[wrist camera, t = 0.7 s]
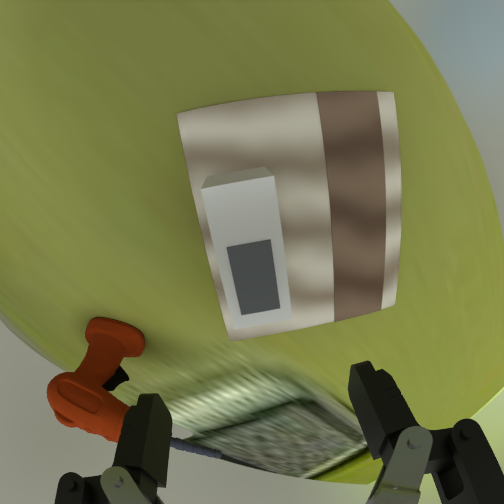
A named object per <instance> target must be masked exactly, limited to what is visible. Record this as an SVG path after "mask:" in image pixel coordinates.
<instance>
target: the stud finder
mask: <svg viewBox="0 0 504 504" xmlns="http://www.w3.org/2000/svg"><path fill="white" fill-rule="evenodd" d="M201 192H202V197H203V202H204V206H205V211H206V215H207V220H208V224H209V229H210V233H211V238H212V242H213V246H214V250H215V255H216V259H217V263H218V267H219V272H220V276H221V280H222V284H223V288H224V292H225V296H226V300H227V304H228V308H229V312H230V316H231V320H232V324H233V327H234V330H235V329H241V328H247V327H253V326H258V325H264V324H269V323H275V322H280V321H285V320H290V319H292V311H291V302H290V293H289V285H288V276H287V268H286V260H285V252H284V244H283V236H282V229H281V221H280V214H279V207H278V200H277V193H276V186H275V179H274V175H273V174H272V173H271V172H270V171H269V170H268V169H267V168H266V167H265V166H263V167H257V168H251V169H245V170H239V171H234V172H228V173H223V174H218V175H213V176H208V177H206V179H205V181H204V183H203V186H202V188H201Z"/></svg>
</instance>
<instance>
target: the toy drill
mask: <svg viewBox="0 0 504 504" xmlns="http://www.w3.org/2000/svg"><path fill="white" fill-rule="evenodd" d="M85 337H86V340H87V342H88V343H89V346H88V350H87V353H86V356H85V358H84V359H83V361H82V363H81V364H80V366H79V367H78V368H77V369H76V371H75V372H64V373H61V374H59V375H57V376H55V377H54V378H53V379H52V380H51V381H50V383H49V384H48V387H47V398H48V401H49V403H50V406H51V408H52V409H53V411H54V413H55V416H56V418H57V420H58V421H59V422H60V423H62V424H64V425H65V426H67V427H78V428H80V429H83V430H85V431H86V432H88V433H93V434H99V435H101V436H103V437H104V438H106V439H107V440H108V441H113V442H116V443H118V440H119V436H120V435H121V433H120V432H121V428H122V427H123V425H122V424H123V420H124V416H125V414H126V412H127V411H128V409H129V408H130V407H129V406H128V405H126V404H124V403H123V402H121V401H120V400H118V399H117V398H116V397H114V396H113V395H112V394H110V393H109V392H108V391H113V390H114V389H115V388H116V387H117V386H118V385H119V384H121V383H122V382H125V381H129V377H128V375H127V374H126V372H125V371H124V370H123V369H122V367H121V366H120V363H121V361H122V359H123V357H139V356H140V355H141V354H142V352H143V350H144V347H145V340H144V336H143V334H142V333H141V332H140V331H139V330H138V329H137V328H135V327H133V326H131V325H129V324H126V323H123V322H120V321H117V320H113V319H109V318H102V317H96V318H93V319H92V320H90V322H89V324H88V326H87V329H86V332H85ZM171 436H172V432H171ZM170 447H174V448H176V449H178V450H183V451H184V450H185V451H187V452H192V453H196V454H200V455H206V456H208V457H214V458H220V457H221V456H222V452H221V451H220V450H216V449H211V448H208V447H205V446H201V445H197V444H192V443H190V442H187V441H185V440H182V439H179V438H173V437H171V441H170Z"/></svg>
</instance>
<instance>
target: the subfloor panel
mask: <svg viewBox="0 0 504 504" xmlns="http://www.w3.org/2000/svg"><path fill="white" fill-rule="evenodd" d="M177 119H178V124H179V129H180V134H181V140H182V145H183V150H184V155H185V159H186V164H187V169H188V174H189V178H190V183H191V188H192V192H193V197H194V201H195V206H196V210H197V214H198V219H199V223H200V227H201V232H202V236H203V240H204V244H205V248H206V252H207V256H208V260H209V264H210V268H211V272H212V276H213V280H214V284H215V288H216V292H217V295H218V299H219V303H220V307H221V310H222V314H223V318H224V321H225V325H226V328H227V332H228V336H229V339H230V341H236V340H242V339H248V338H254V337H260V336H265V335H271V334H276V333H281V332H286V331H291V330H296V329H301V328H306V327H311V326H315V325H320V324H324V323H328V322H333V321H334V322H336V321H341V320H345V319H349V318H353V317H357V316H361V315H364V314H368V313H372V312H376V311H379V310H381V309H384V308H387V307H391V306H394V305H395V299H396V290H397V281H398V270H399V257H400V240H401V164H400V148H399V135H398V125H397V115H396V107H395V100H394V93H393V92H377V91H336V92H316V93H302V94H290V95H280V96H271V97H263V98H256V99H249V100H242V101H236V102H230V103H224V104H219V105H213V106H208V107H203V108H199V109H194V110H190V111H185V112H181V113H177ZM263 166H265V167H266V168H267V169H268V170H269V171H270V172H271V173H272V174H273V175H274V179H275V186H276V193H277V200H278V207H279V214H280V221H281V229H282V236H283V244H284V252H285V260H286V268H287V276H288V285H289V293H290V302H291V311H292V319H290V320H285V321H280V322H275V323H269V324H264V325H258V326H253V327H247V328H241V329H235V330H234V327H233V324H232V320H231V316H230V312H229V308H228V304H227V300H226V296H225V292H224V288H223V284H222V280H221V276H220V272H219V267H218V263H217V259H216V255H215V250H214V246H213V242H212V238H211V233H210V229H209V224H208V220H207V215H206V211H205V206H204V202H203V197H202V192H201V188H202V186H203V183H204V181H205V179H206V177H208V176H213V175H218V174H223V173H228V172H234V171H239V170H245V169H251V168H257V167H263Z"/></svg>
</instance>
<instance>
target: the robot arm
mask: <svg viewBox="0 0 504 504" xmlns="http://www.w3.org/2000/svg"><path fill="white" fill-rule="evenodd" d="M348 393H349V397H350V400H351V403H352V405H353V408H354V410H355V413H356V416H357V418H358V421H359V423H360V426H361V428H362V431H363V434H364V436H365V439H366V441H367V444H368V447H369V449H370V452H371V455H372V457H373V460H375V459H378V458H382V461H383V466H382V469H381V471H380V474H379V476H378V478H377V481H376V483H375V485H374V487H373V490H372V492H371V494H370V496H369V498H368V500H367V502H366V504H418V502H419V499H420V491H419V488H420V485H421V482H422V478H423V475H424V474H428V473H431V474H432V477H433V479H434V482H435V485H436V488H437V491H438V494H439V497H440V499H441V503H442V504H504V475H503V472H502V470H501V468H500V466H499V463H498V461H497V459H496V457H495V455H494V453H493V451H492V449H491V447H490V445H489V443H488V441H487V439H486V437H485V435H484V433H483V431H482V429H481V427H480V425H479V424H478V423H477V422H476V421H474V420H472V419H462V420H460V421H458V422H457V423H456V424H455V425H454V427H453V428H447V429H440V430H428V429H426V428H424V427H421V426H420V425H419V424H418V423H417V421H416V420H415V418H414V416H413V414H412V412H411V410H410V408H409V407H408V405H407V403H406V401H405V399H404V397H403V395H401V392H400V390H399V388H398V387H397V385H396V383H395V381H394V379H393V377H392V376H391V375H390V374H388V373H387V372H386V371H385V370H383V369H381V370H377V371H375V369H374V367H373V366H372V364H371V362H370V361H364V362H361V363H357V364H353V365H351V368H350V376H349V384H348ZM122 425H123V427H122V428H121V432H120V433H121V435H120V436H119V440H118V444H117V449H116V453H115V458H114V462H113V465H112V467H110V468H108V469H106V470H105V471H104V472H103V474H102V475H99V476H93V477H84V478H82V477H81V476H80V475H78V474H76V473H73V472H69V473H66V474H64V475H63V476H62V477H61V478H60V480H59V483H58V488H57V493H56V498H55V504H164V503H163V502H162V500H161V499H160V497H159V496H158V495H157V487H165V488H166V481H167V469H168V459H169V449H170V441H171V432H172V417H171V414H170V412H169V410H168V409H167V407H166V405H165V404H164V402H163V400H162V399H161V397H160V395H159V394H157V393H152V394H140V395H139V398H138V402H137V406H131V407H130V408H129V409H128V411H127V412H126V414H125V416H124V420H123V424H122Z"/></svg>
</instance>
